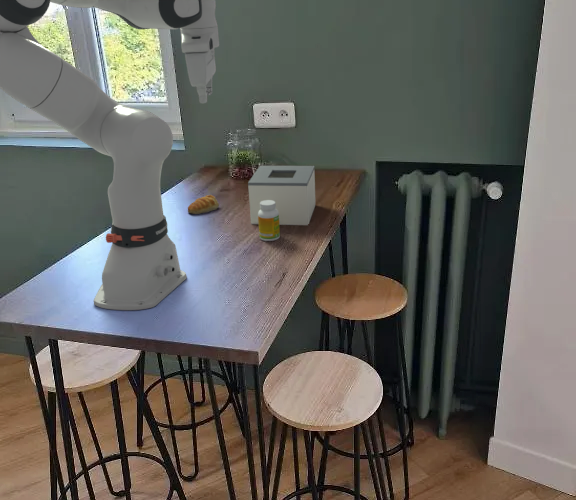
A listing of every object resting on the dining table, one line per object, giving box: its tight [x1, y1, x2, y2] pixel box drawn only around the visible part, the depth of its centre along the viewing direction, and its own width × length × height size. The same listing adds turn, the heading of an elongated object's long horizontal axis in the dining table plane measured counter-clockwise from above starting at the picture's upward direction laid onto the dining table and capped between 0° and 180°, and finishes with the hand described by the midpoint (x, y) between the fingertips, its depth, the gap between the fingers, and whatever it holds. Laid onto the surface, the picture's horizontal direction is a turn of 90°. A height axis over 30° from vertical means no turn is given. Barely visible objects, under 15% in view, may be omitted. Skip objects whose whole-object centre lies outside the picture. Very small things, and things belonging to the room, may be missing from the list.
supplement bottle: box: [258, 200, 281, 242], centre depth 156 cm, size 5×5×10 cm
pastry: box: [187, 194, 220, 215], centre depth 178 cm, size 9×7×4 cm
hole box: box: [247, 165, 316, 226], centre depth 170 cm, size 16×16×12 cm
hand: (206, 98), depth 149 cm, fingers open, 8 cm apart
